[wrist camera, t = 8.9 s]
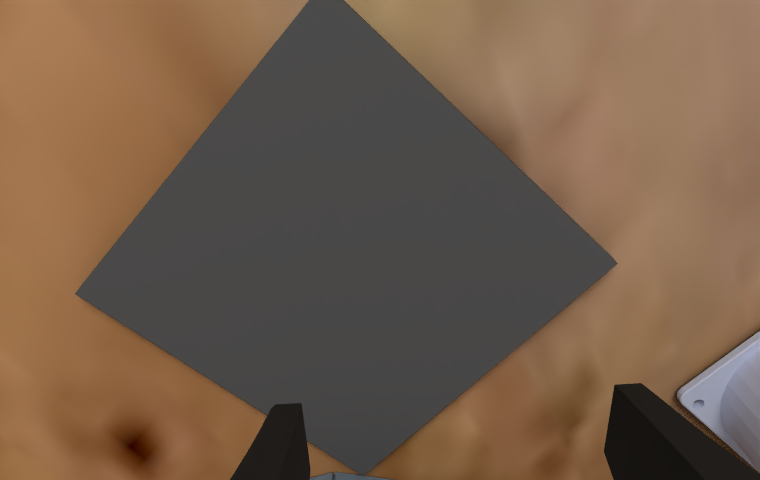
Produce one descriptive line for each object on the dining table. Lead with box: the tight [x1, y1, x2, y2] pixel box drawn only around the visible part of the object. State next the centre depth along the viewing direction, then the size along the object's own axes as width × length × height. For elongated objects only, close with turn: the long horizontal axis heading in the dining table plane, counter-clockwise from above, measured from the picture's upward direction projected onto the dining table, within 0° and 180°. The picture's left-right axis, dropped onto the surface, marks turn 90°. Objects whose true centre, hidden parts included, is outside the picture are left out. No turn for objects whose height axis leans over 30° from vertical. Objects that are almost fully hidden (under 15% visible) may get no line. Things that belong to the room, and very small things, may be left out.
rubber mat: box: [75, 0, 617, 476], centre depth 23 cm, size 15×15×1 cm
